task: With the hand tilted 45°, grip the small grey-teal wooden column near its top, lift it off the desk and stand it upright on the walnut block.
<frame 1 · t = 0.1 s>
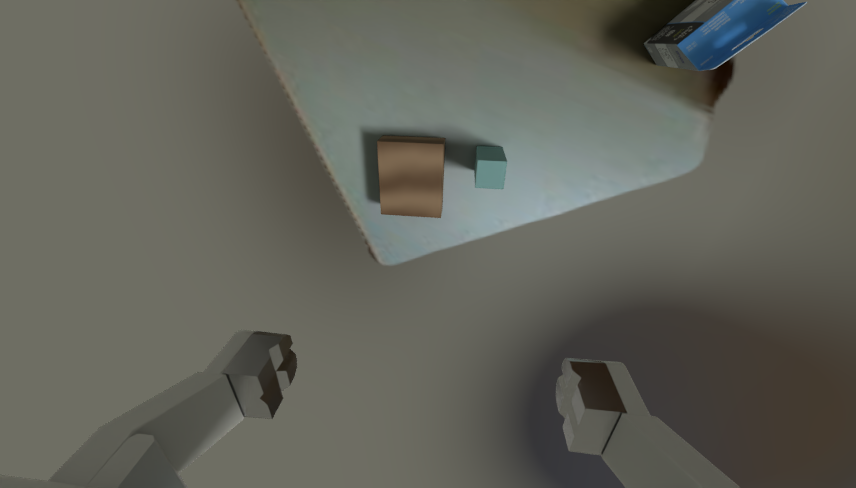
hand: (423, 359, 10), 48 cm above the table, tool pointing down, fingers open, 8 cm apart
teal column: (488, 159, 55), on the table
label tape box: (682, 29, 44), on the table
walnut block: (413, 173, 57), on the table
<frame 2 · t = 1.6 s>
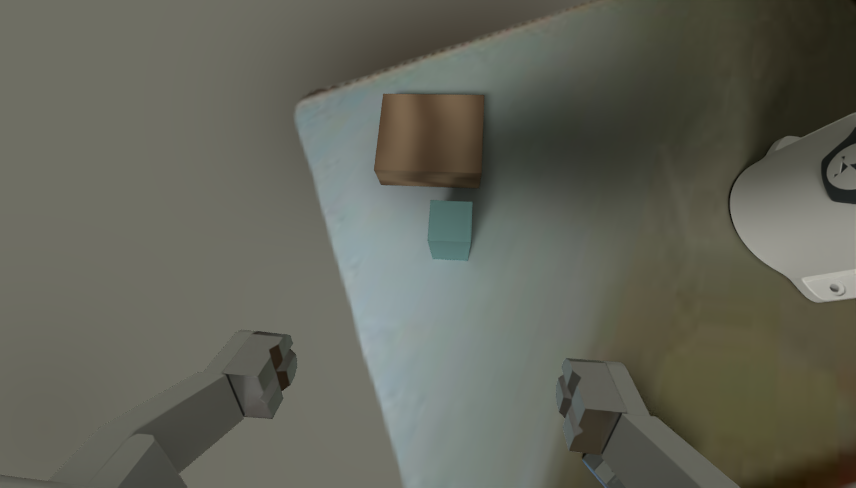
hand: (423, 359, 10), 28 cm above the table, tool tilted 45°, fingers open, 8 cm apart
teal column: (450, 243, 40), on the table
label tape box: (626, 485, 33), on the table
walnut block: (432, 149, 43), on the table
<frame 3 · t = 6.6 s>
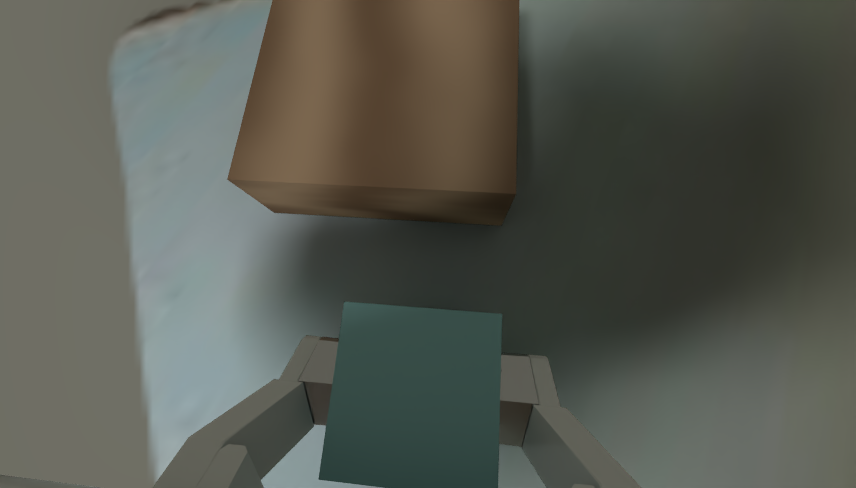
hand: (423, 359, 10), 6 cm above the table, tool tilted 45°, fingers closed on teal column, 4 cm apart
teal column: (431, 365, 16), on the table, touching gripper
walnut block: (394, 134, 19), on the table
when the fingers open (11 cm above the table, at t = 11.7 s): teal column drops 1 cm, resting on walnut block.
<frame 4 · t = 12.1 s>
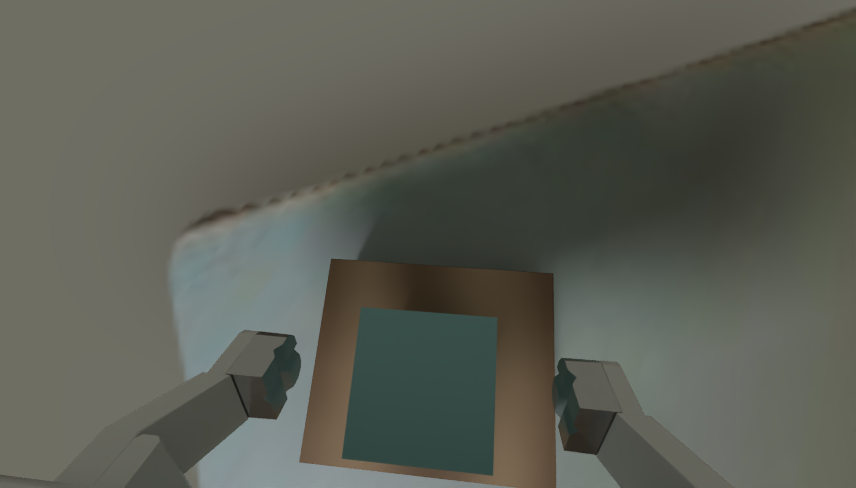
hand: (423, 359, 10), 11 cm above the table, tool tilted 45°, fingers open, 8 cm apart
teal column: (434, 363, 17), point 4 cm above the table, touching walnut block
walnut block: (435, 358, 21), on the table
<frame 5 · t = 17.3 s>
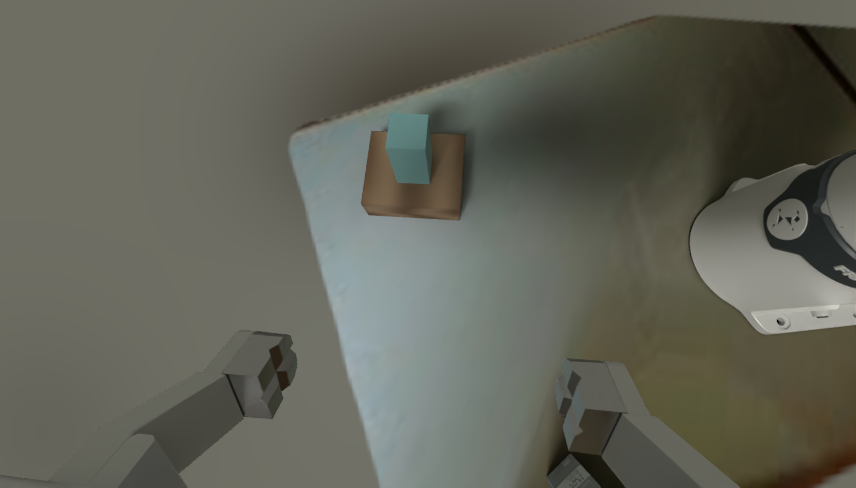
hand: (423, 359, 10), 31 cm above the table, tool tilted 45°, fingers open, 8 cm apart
teal column: (414, 168, 42), point 4 cm above the table, touching walnut block
walnut block: (417, 182, 46), on the table
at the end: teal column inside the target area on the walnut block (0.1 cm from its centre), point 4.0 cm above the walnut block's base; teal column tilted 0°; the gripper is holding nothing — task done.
